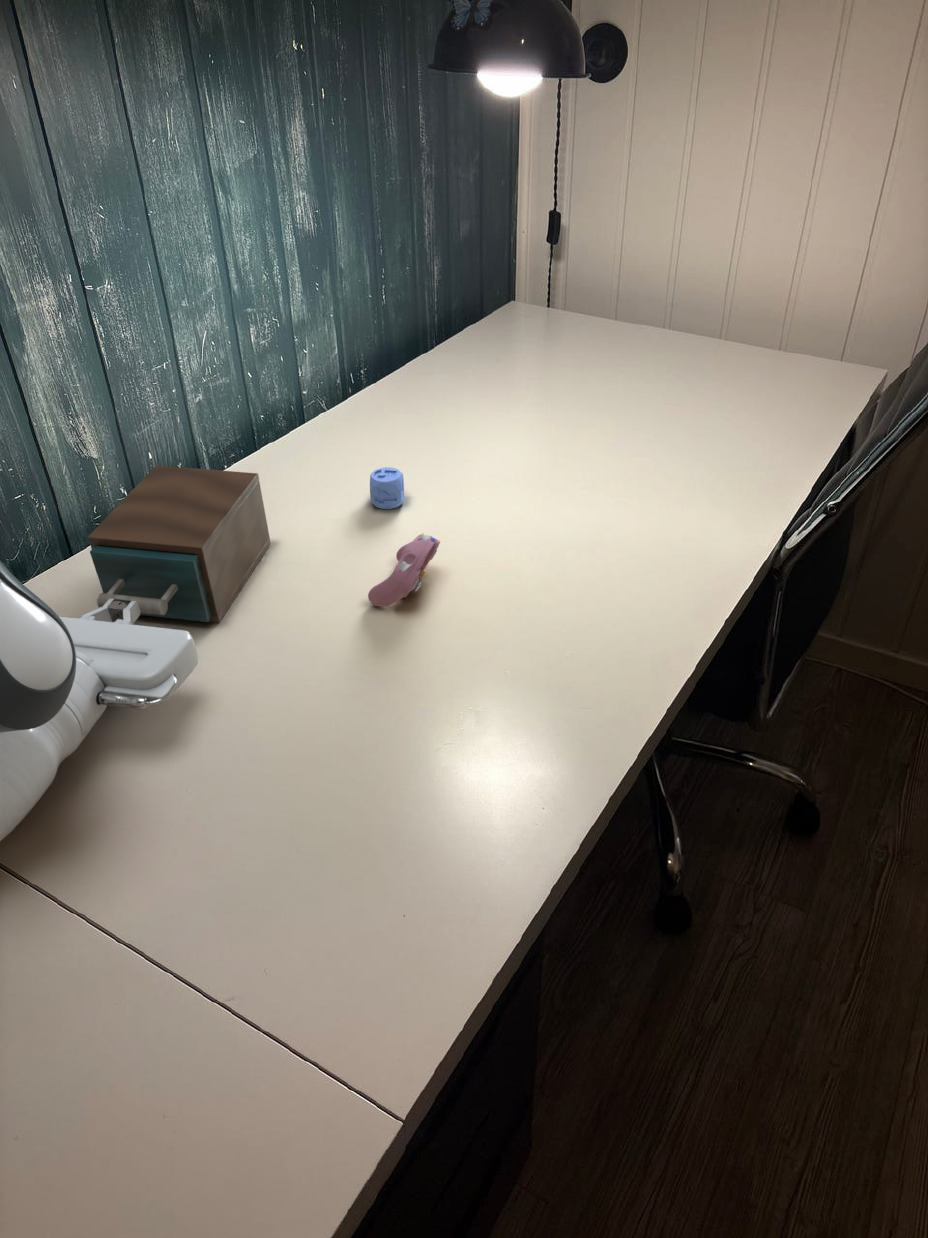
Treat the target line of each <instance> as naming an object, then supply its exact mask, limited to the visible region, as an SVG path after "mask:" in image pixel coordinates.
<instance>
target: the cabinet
mask: <svg viewBox="0 0 928 1238" xmlns="http://www.w3.org/2000/svg"><path fill="white" fill-rule="evenodd" d="M262 493H263V492H262V488H261V483H260V477H259V473H257V472H244V471H231V470H218V469H208V468H207V469H205V468H193V467H181V466H169V465H168V466H167V465H155V466H153V468H152V469H150V471H149V472H148V473H147V474H146V475H145V476H144V477H143V478H142V479H141V481H139V483H138V484H137V485H136V486H134V488H133V489H132V490H130V492H129V493H128V494H127V495H126V496H125V497H124V499H122V500H121V502H120V503H118V505H117V506H116V507H115V508H114V509H113V510H112V511H111V512H110V513H109V514H108V515H107V516H106V517H105V518H104V519H103V520H102V521H101V522H100V523H99V525H98V526H97V527H95V529H94V530H93V531H92V532H91V533H90V534H88V536H87V540H88V544H89V545H90V549H91V550H92V549H93V548H94V546H105V547H111V546H115V547H125V548H136V549H146V550H157V551H167V552H178V553H188V554H196V555H198V558H199V562H200V566H201V570H202V575H203V579H204V583H205V587H206V591H207V595H208V599H209V604H210V608H211V612H212V617H211V619H210V620H209V622H208V623H216V624H217V623H218V624H220V623H221V621H222V620H223V618H224V617H225V615H226V614H227V612H228V611H229V609H230V608H231V606H232V604H233V603H234V602H235V600H236V599H237V597H238V596H239V594H240V592H241V591H242V589H243V588H244V586H245V585H246V584H247V582H248V581H249V578H250V577H251V576H252V574H253V573H254V571H255V570H256V568H257V566H258V565H259V563H260V562H261V561H262V559H263V557H264V556H265V554H266V552H267V551H268V550H269V548H270V547H271V545H272V543H271V537H270V533H269V526H268V519H267V516H266V510H265V505H264V499H263V494H262Z"/></svg>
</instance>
